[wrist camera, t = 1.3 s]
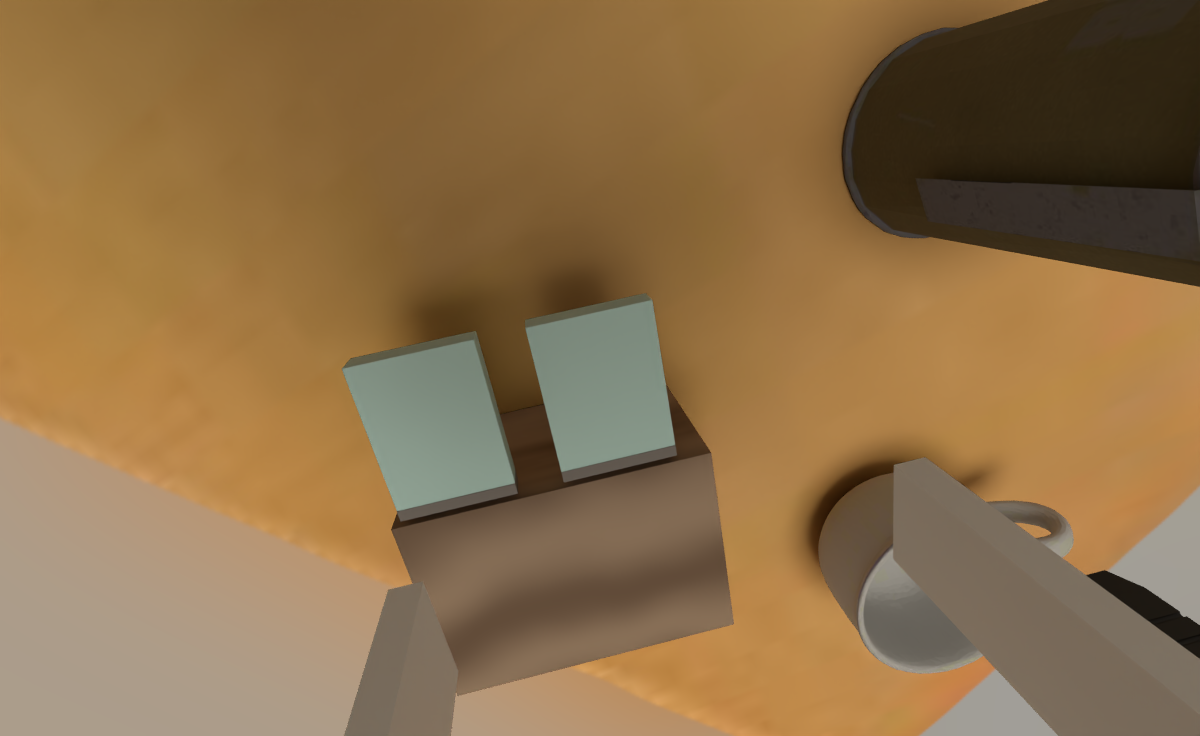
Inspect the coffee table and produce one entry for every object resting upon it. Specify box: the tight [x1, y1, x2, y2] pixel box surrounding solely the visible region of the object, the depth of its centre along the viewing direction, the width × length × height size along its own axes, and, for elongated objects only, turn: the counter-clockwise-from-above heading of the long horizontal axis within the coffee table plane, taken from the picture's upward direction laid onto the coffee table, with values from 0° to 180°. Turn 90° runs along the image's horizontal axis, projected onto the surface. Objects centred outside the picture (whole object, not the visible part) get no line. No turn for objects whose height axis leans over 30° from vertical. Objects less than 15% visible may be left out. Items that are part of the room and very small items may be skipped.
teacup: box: [818, 473, 1074, 674], centre depth 35 cm, size 14×11×8 cm
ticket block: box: [391, 385, 734, 696], centre depth 30 cm, size 10×14×9 cm
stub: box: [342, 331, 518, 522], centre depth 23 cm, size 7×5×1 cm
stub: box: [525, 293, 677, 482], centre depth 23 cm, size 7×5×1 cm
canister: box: [843, 0, 1200, 287], centre depth 21 cm, size 11×10×20 cm
